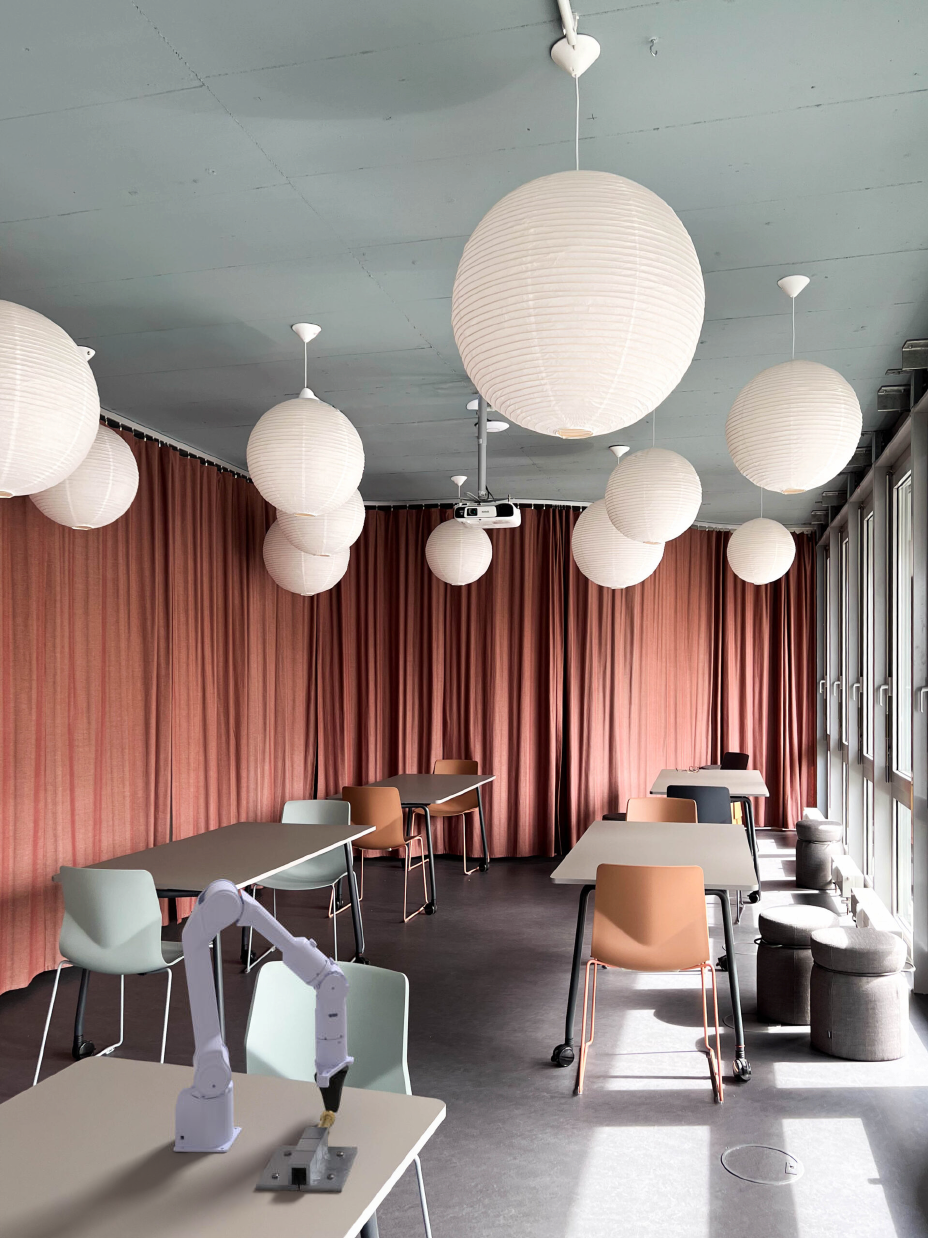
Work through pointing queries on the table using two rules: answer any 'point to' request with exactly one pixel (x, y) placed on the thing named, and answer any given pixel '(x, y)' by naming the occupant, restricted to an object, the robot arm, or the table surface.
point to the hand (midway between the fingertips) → (332, 1111)
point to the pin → (327, 1119)
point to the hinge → (308, 1164)
